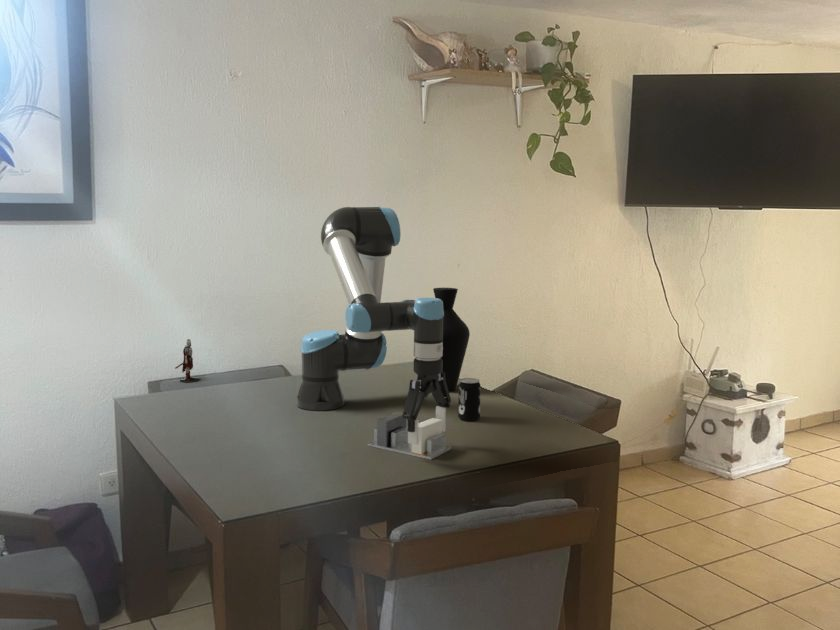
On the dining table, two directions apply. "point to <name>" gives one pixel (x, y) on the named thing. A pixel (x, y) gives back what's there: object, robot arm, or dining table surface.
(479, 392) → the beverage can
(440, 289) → the vase
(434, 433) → the blank panel
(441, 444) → the rack
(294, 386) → the dining table surface
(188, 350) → the figurine
